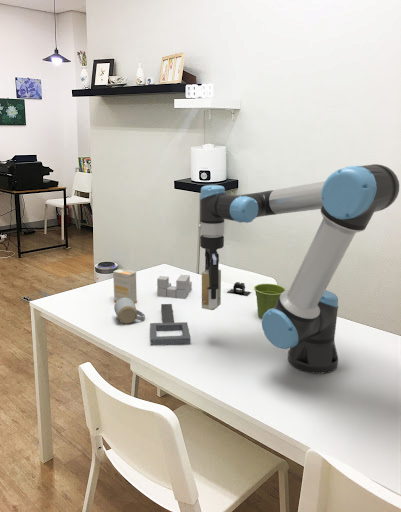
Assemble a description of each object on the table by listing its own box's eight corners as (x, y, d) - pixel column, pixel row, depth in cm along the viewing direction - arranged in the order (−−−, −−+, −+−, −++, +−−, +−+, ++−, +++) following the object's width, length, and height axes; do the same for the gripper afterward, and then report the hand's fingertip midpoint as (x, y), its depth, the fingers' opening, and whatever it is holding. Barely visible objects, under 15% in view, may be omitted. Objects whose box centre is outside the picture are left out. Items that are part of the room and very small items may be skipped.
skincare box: (209, 302, 164) (209, 267, 161) (221, 304, 162) (221, 269, 159) (200, 308, 158) (201, 272, 155) (213, 310, 156) (213, 274, 153)
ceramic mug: (118, 326, 174) (117, 306, 172) (114, 317, 181) (113, 298, 179) (147, 323, 177) (147, 303, 175) (142, 314, 184) (142, 295, 182)
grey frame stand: (190, 344, 161) (190, 338, 160) (150, 345, 159) (150, 339, 159) (183, 308, 190) (183, 303, 190) (149, 309, 189) (149, 304, 188)
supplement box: (137, 302, 196) (136, 271, 192) (129, 306, 192) (128, 274, 188) (121, 298, 200) (120, 267, 197) (113, 301, 196) (112, 270, 193)
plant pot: (269, 325, 177) (271, 296, 174) (245, 315, 185) (247, 287, 182) (290, 317, 184) (292, 289, 181) (266, 308, 193) (268, 281, 190)
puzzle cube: (191, 289, 212) (191, 272, 210) (185, 299, 201) (185, 281, 199) (164, 287, 215) (165, 270, 213) (157, 296, 203) (157, 278, 201)
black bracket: (255, 293, 211) (255, 283, 210) (249, 298, 204) (249, 288, 203) (228, 288, 216) (229, 279, 215) (222, 293, 210) (222, 283, 209)
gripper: (196, 228, 163) (196, 293, 169) (204, 242, 144) (203, 315, 150) (219, 228, 164) (218, 293, 170) (229, 242, 145) (227, 314, 151)
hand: (211, 303), depth 160 cm, fingers closed on skincare box, 7 cm apart
